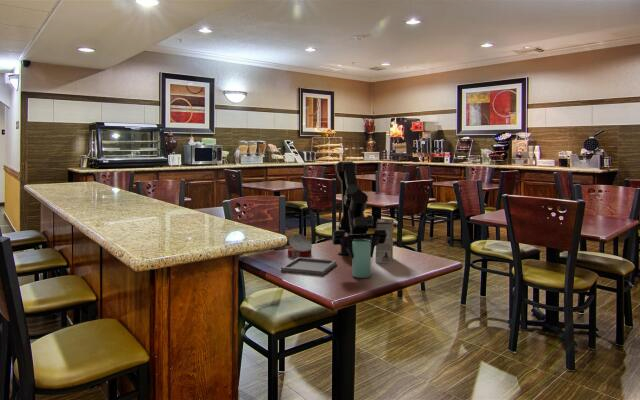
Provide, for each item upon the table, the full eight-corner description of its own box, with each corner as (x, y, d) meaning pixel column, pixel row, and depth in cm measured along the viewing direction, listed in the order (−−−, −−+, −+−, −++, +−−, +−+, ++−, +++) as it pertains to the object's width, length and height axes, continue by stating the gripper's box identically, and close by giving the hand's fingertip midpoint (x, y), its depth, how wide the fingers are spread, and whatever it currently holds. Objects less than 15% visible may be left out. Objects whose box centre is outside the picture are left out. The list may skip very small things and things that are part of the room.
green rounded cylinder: (354, 271, 165) (355, 238, 164) (372, 273, 163) (372, 240, 161) (349, 276, 159) (350, 242, 158) (368, 278, 157) (368, 244, 155)
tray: (298, 261, 182) (298, 257, 182) (336, 264, 177) (336, 260, 176) (281, 271, 167) (281, 267, 167) (322, 275, 162) (322, 271, 162)
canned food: (307, 263, 196) (318, 243, 196) (304, 267, 186) (316, 246, 186) (284, 251, 197) (295, 230, 196) (280, 254, 187) (291, 232, 186)
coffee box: (377, 257, 188) (377, 218, 186) (393, 258, 186) (393, 218, 184) (375, 263, 179) (375, 222, 177) (391, 263, 177) (392, 222, 175)
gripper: (333, 207, 161) (337, 245, 152) (385, 206, 163) (393, 244, 153) (331, 225, 170) (334, 262, 160) (380, 224, 172) (387, 261, 162)
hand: (362, 257), depth 159 cm, fingers closed on green rounded cylinder, 6 cm apart
